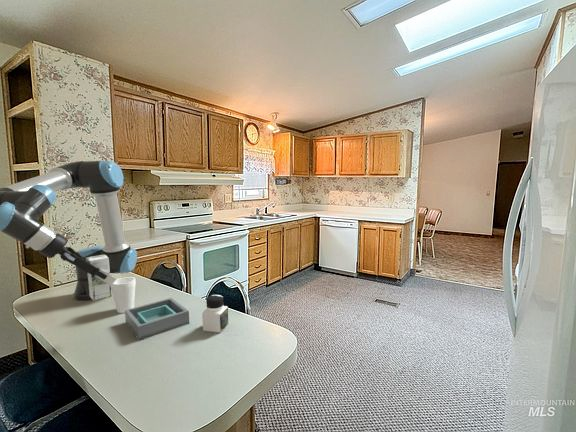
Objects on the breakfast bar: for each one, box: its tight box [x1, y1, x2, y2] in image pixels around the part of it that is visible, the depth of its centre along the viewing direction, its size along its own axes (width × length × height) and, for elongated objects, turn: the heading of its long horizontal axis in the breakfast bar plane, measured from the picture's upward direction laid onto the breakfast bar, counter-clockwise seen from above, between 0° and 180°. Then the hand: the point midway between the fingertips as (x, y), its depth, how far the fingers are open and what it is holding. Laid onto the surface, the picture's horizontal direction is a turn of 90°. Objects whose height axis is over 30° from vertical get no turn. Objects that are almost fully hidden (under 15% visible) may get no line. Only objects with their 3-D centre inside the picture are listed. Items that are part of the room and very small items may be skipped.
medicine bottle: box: [201, 294, 229, 334], centre depth 111 cm, size 7×7×12 cm
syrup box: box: [86, 255, 113, 302], centre depth 104 cm, size 6×6×14 cm
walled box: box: [124, 297, 190, 341], centre depth 116 cm, size 18×18×5 cm
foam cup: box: [111, 276, 137, 314], centre depth 128 cm, size 10×9×13 cm
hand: (111, 279), depth 107 cm, fingers closed on syrup box, 6 cm apart
